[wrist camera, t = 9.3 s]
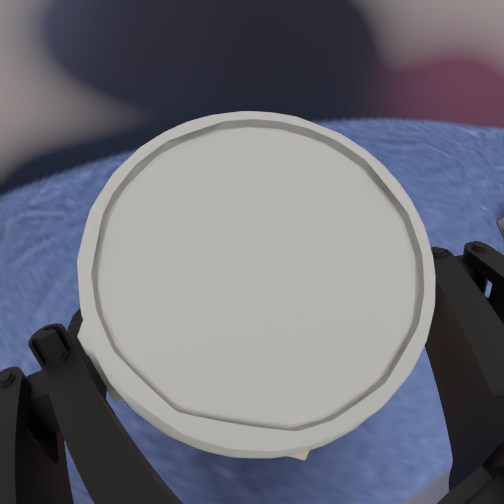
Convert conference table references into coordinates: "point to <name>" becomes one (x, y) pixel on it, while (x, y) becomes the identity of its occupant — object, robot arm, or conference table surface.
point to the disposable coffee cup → (255, 284)
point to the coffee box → (501, 225)
